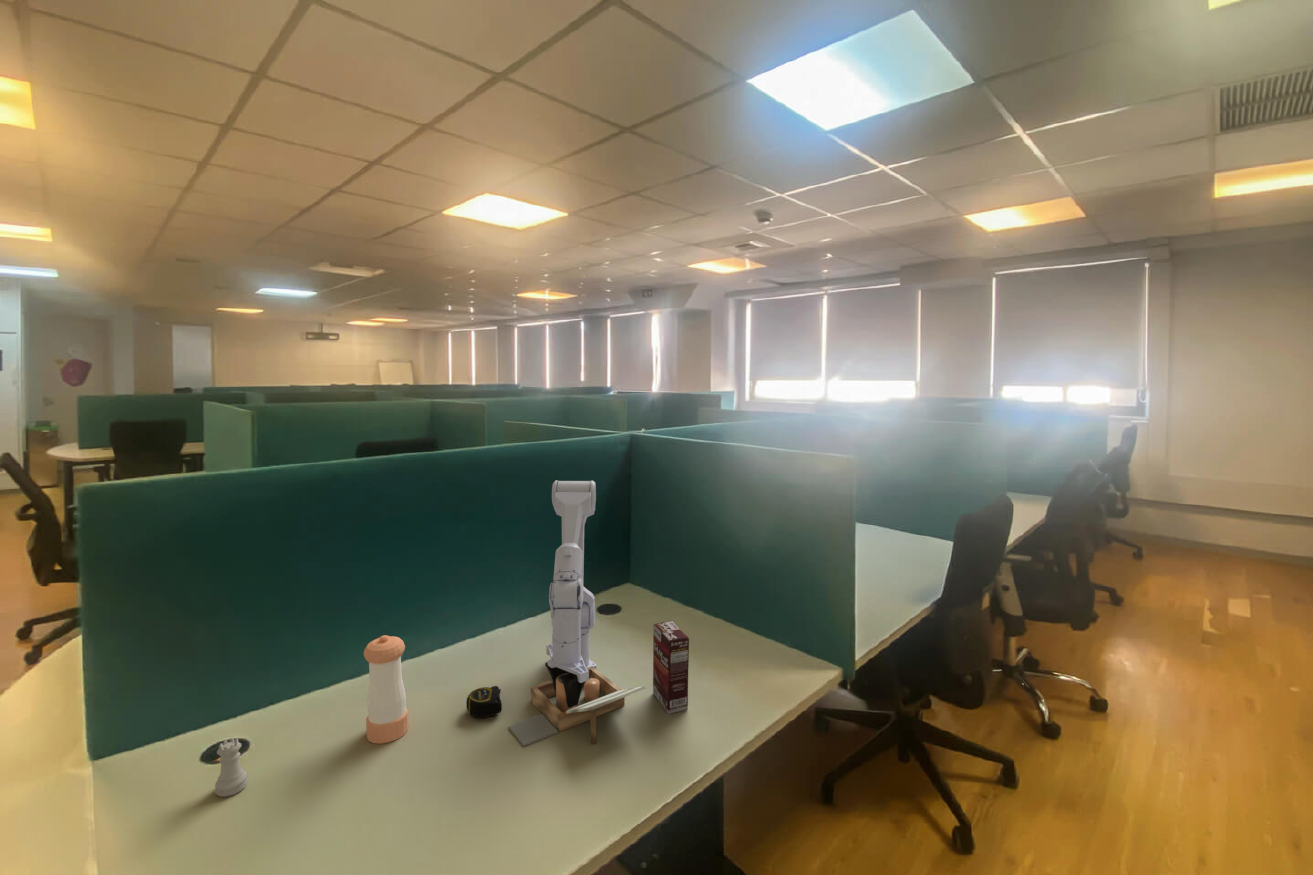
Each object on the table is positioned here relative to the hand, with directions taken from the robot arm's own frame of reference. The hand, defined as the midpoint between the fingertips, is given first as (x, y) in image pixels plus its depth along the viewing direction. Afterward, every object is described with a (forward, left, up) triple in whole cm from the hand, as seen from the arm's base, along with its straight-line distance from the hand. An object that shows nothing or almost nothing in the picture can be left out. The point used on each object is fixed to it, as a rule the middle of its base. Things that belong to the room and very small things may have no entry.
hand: (566, 699), depth 118 cm
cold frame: (+5, +2, -2) cm, 6 cm away
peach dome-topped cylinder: (0, 0, -1) cm, 1 cm away
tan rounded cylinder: (0, +6, -2) cm, 6 cm away
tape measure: (-9, -14, -2) cm, 16 cm away
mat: (+3, -9, -2) cm, 10 cm away
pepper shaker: (-13, -32, -2) cm, 34 cm away
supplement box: (+11, +18, -2) cm, 22 cm away
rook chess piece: (-12, -56, -2) cm, 57 cm away
